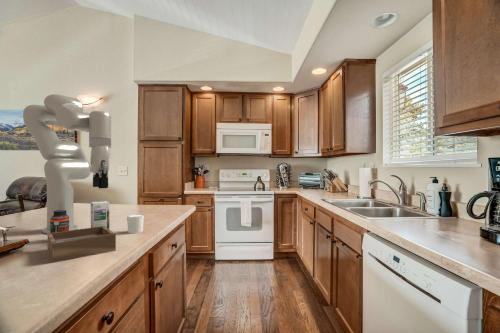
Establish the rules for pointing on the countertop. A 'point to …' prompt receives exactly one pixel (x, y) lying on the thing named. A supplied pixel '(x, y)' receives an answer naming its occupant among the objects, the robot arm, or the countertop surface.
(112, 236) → the crate
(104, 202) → the syrup box
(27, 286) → the countertop surface
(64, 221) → the supplement bottle
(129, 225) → the white cup
